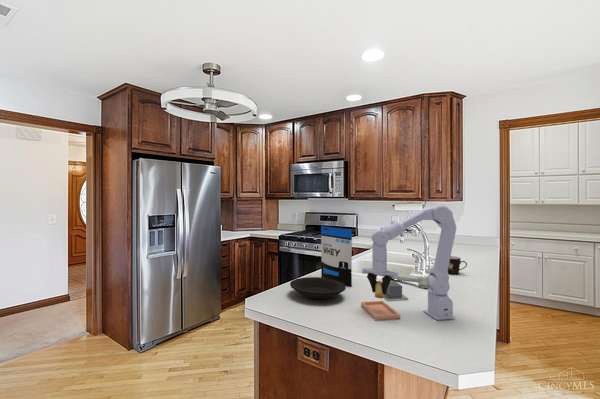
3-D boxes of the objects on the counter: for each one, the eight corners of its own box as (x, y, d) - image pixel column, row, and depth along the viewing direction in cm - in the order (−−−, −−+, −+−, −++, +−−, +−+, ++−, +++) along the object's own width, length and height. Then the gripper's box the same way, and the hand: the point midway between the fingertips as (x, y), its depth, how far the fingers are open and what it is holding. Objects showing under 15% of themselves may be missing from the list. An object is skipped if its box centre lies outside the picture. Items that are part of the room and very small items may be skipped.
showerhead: (435, 266, 178) (447, 270, 169) (434, 278, 178) (447, 283, 169) (420, 267, 176) (432, 271, 166) (420, 279, 176) (432, 284, 166)
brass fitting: (386, 296, 128) (386, 282, 128) (381, 298, 125) (381, 283, 125) (377, 294, 130) (377, 280, 130) (372, 296, 128) (372, 282, 128)
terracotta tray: (400, 319, 120) (400, 314, 120) (375, 320, 119) (375, 316, 119) (382, 304, 136) (382, 300, 136) (361, 306, 135) (361, 301, 135)
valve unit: (408, 299, 142) (408, 286, 142) (387, 301, 141) (387, 288, 141) (395, 291, 155) (395, 279, 154) (376, 292, 153) (376, 280, 153)
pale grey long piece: (390, 271, 180) (431, 274, 161) (392, 283, 179) (433, 287, 160) (385, 273, 177) (426, 275, 157) (386, 285, 176) (427, 289, 157)
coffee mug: (441, 272, 192) (441, 256, 192) (452, 271, 194) (453, 255, 194) (456, 277, 181) (456, 260, 180) (468, 276, 183) (468, 259, 183)
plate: (279, 295, 150) (279, 283, 149) (312, 285, 166) (312, 274, 166) (323, 310, 130) (323, 297, 130) (356, 297, 147) (356, 285, 147)
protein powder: (327, 276, 185) (327, 225, 184) (357, 285, 165) (357, 229, 165) (315, 278, 179) (315, 226, 179) (345, 288, 160) (345, 230, 159)
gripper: (400, 260, 126) (400, 293, 126) (367, 256, 135) (367, 287, 135) (394, 263, 120) (394, 298, 121) (360, 259, 129) (360, 291, 129)
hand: (379, 292), depth 127 cm, fingers closed on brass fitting, 4 cm apart
